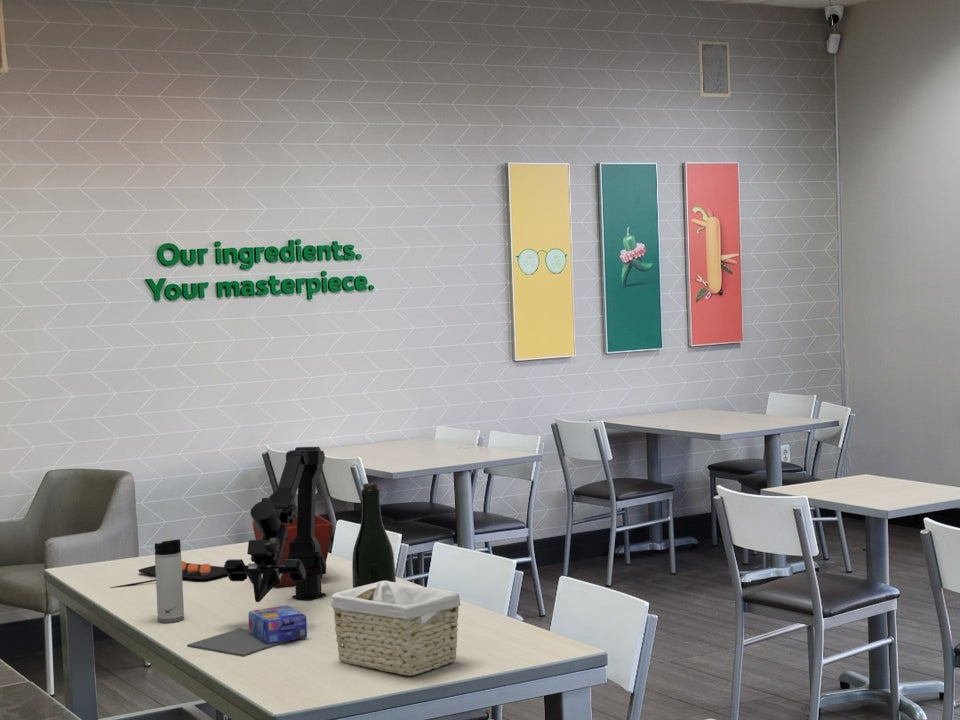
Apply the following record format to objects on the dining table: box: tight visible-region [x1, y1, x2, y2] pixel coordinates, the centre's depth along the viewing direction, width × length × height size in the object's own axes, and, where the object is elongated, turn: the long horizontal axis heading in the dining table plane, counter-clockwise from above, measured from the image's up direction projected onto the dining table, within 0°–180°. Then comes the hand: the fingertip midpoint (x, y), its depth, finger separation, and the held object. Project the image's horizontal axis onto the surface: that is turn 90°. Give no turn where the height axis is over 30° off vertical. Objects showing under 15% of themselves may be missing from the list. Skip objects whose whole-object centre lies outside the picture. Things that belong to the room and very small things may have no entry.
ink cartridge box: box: [247, 605, 308, 644], centre depth 270 cm, size 10×6×14 cm
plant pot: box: [252, 514, 333, 588], centre depth 332 cm, size 19×19×17 cm
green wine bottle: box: [351, 482, 397, 601], centre depth 282 cm, size 10×10×33 cm
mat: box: [186, 627, 292, 658], centre depth 267 cm, size 16×18×1 cm
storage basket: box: [330, 581, 461, 677], centre depth 247 cm, size 24×16×15 cm
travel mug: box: [154, 538, 185, 624], centre depth 291 cm, size 6×7×20 cm
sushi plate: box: [109, 560, 227, 589], centre depth 342 cm, size 29×30×4 cm
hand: (257, 601), depth 274 cm, fingers closed
